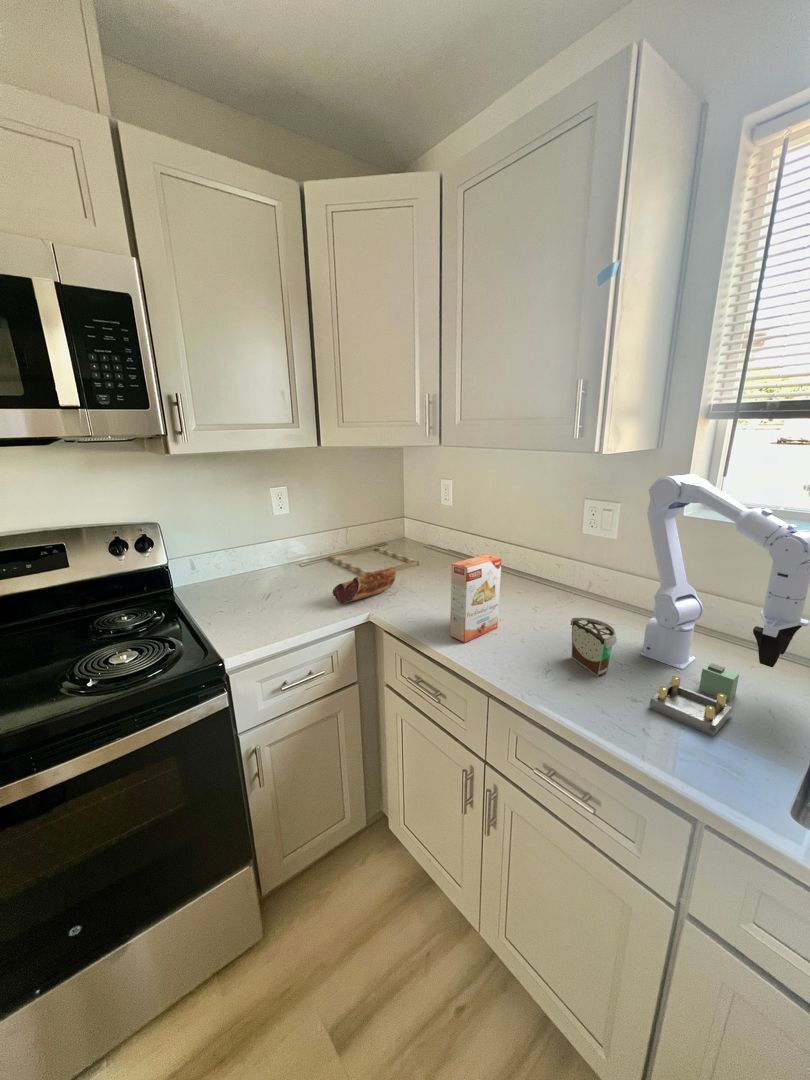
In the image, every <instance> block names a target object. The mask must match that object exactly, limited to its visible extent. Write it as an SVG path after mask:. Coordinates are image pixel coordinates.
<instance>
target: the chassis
mask: <svg viewBox="0 0 810 1080" xmlns="http://www.w3.org/2000/svg"><path fill="white" fill-rule="evenodd" d="M680 683H681V677H680V676H677V675H673V676H672V677H671V682H668V683H667V684H666V685H664V686H659V688H658V689H659V690H658V691H657V692H656V693H655V694H654V695H653V696H652V697H651V698H650V701H649V702H650V703H649V709H650V710H653V711H654V712H657V713H659V714H662V715H664V716H666V717H669V718H670V719H673V720H676V721H677V722H680V723H681V724H684V725H687V726H689V727H690V728H693V729H695V730H697V731H700V732H702V733H705V734H706V735H709V736H711V737H715V735H716V734H718V732H719V731H720V730H721V728H722V727H723V726H724V725H725V723H726V722H727V721H728V720H729V718H730V717H731V714H732V709H733V708H732V707H733V706H732V705H730V704H726V702H727V700H726V697H727V696H726V695H724V694H722V693H718V695H717V696H716V699H715V698H714V699H713V698H711V697H708V696H706V695H704V694H701V693H699V692H696V691H693V690H691V689H688V688H686V687H684V686H681V685H680Z"/></svg>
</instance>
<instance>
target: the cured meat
mask: <svg viewBox="0 0 810 1080" xmlns="http://www.w3.org/2000/svg"><path fill="white" fill-rule="evenodd" d="M388 568H389V569H386V568H383V569H384V570H382V569H379V571H378V570H375V571H376V572H374V571H373V572H374V573H371V574H368V575H364V576H362V575H359V576H355V577H353V579H352V580H349V581H345V582H342V583H339V584H337V585H336V586H335V587H334V588H333V589H332V592H331V593H332V595H333V597H335V599H336V600H335V601H337V602H338V603H341V604H346V603H348V602H353V601H358V600H363V599H365V598H369V597H372V596H376V595H379V594H381V593H382V592H384V591H386V590H389V589H390V588H391V587H392V586H393V584H394V582H395V580H396V577H397V572H396V571H395V568H390V567H388Z"/></svg>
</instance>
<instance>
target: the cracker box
mask: <svg viewBox="0 0 810 1080" xmlns="http://www.w3.org/2000/svg"><path fill="white" fill-rule="evenodd" d="M501 574H502V558H501V557H498V556H495V555H490V554H486V553H485V554H482V555H478V556H474V557H472V558H466V559H463V560H459V561H456V562H453V563H451V582H450V584H451V585H450V618H449V619H450V622H449V623H450V624H449V636H450V637H451V638H453V639H456V640H458V641H459V642H462V643H465V644H466V643H467V642H470V641H471V640H474V639H476V638H479V637H481V636H484V635H485V634H487V633H489V632H492V631H494V630H496V629H498V627H499V626H498V625H499V609H500V591H501V578H502V577H501Z"/></svg>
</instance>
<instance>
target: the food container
mask: <svg viewBox="0 0 810 1080" xmlns="http://www.w3.org/2000/svg"><path fill="white" fill-rule="evenodd" d="M569 626H571V658H572V659H573V660H575V662H576V663H578V664H580V665H581V666H582V667H584V668H585V669H586V670H588V671H589V672H590V673H591V674H593V675H595V676H596V677H597V678H600V677H603V676H605V675H606V674H607V672H608V669H609V668H608V667H609V663H610V659H611V655H612V648H613V646H615V645H616V644H617V634H616V632H615V628H614V627H612V626H611V625H609V623H606V622H604V621H601V620H598V619H595V618H594V619H593V618H590V617H572V618H571V620H570V625H569Z"/></svg>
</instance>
